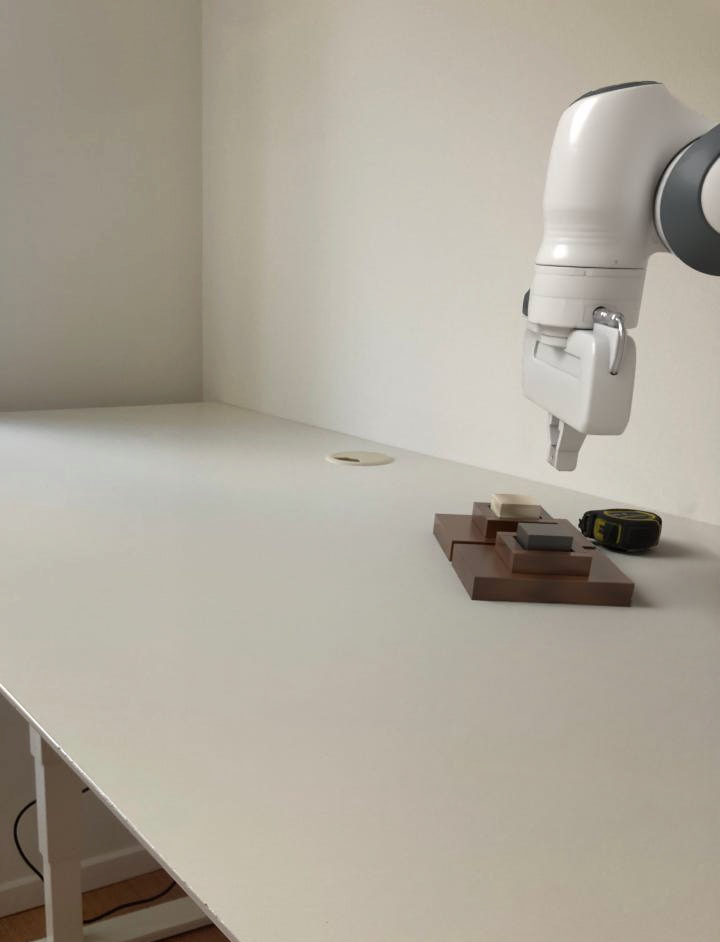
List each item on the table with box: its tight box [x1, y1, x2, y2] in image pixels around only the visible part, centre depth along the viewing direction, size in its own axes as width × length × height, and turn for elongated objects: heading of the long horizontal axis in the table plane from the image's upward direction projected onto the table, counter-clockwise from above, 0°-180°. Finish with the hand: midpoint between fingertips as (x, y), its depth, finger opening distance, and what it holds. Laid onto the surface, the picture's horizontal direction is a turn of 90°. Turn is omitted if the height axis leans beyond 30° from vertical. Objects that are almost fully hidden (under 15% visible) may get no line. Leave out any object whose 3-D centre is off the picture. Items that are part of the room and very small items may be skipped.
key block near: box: [451, 532, 636, 608], centre depth 94 cm, size 14×10×4 cm
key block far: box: [432, 501, 597, 563], centre depth 104 cm, size 14×10×4 cm
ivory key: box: [490, 493, 542, 519], centre depth 103 cm, size 4×4×2 cm
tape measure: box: [577, 508, 663, 553], centre depth 106 cm, size 7×7×4 cm
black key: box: [516, 523, 573, 552], centre depth 93 cm, size 4×4×2 cm
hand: (560, 467), depth 91 cm, fingers closed
